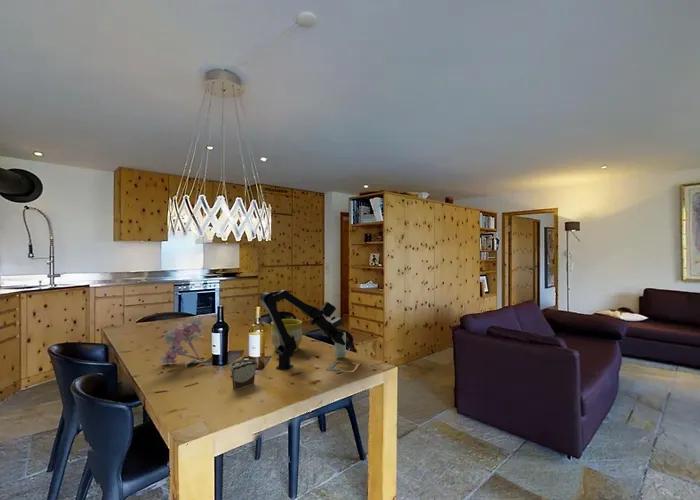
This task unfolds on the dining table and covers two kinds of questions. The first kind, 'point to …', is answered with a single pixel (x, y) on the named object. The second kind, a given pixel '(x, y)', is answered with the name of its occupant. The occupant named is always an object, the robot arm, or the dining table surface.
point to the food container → (243, 373)
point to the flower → (179, 335)
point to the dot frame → (333, 366)
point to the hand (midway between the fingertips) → (342, 343)
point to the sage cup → (340, 348)
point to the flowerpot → (292, 328)
